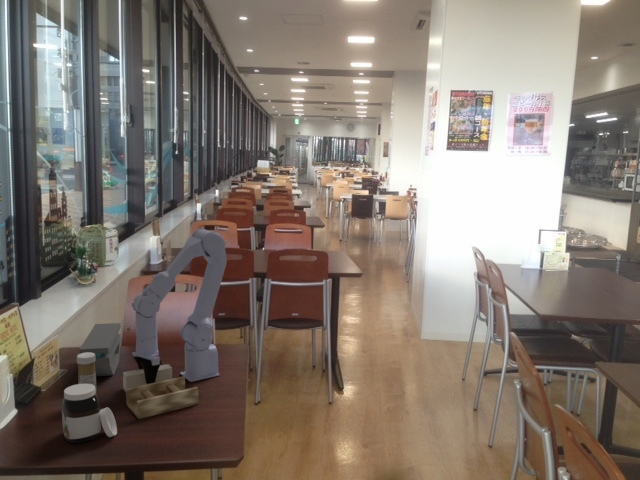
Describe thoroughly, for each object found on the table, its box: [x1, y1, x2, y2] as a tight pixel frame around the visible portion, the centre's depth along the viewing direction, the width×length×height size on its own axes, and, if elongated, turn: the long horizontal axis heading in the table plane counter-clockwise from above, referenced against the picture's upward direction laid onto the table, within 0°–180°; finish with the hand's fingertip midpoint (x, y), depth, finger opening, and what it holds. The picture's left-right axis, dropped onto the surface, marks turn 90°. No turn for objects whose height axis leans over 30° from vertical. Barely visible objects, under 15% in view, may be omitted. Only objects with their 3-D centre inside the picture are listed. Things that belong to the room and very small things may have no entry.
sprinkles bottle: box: [76, 352, 97, 396], centre depth 156 cm, size 5×5×13 cm
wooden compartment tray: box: [125, 376, 199, 420], centre depth 156 cm, size 16×10×4 cm, turn 125°
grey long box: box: [78, 322, 122, 377], centre depth 180 cm, size 25×8×11 cm, turn 11°
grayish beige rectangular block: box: [122, 363, 173, 393], centre depth 167 cm, size 13×4×5 cm, turn 122°
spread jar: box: [61, 383, 118, 444], centre depth 138 cm, size 12×11×12 cm
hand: (148, 381), depth 168 cm, fingers closed on grayish beige rectangular block, 4 cm apart
